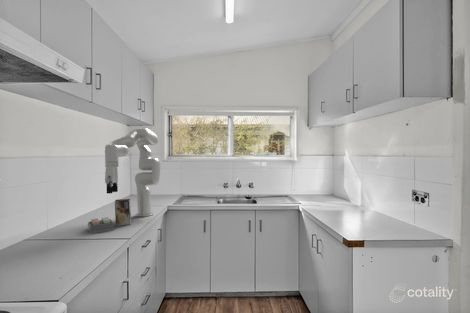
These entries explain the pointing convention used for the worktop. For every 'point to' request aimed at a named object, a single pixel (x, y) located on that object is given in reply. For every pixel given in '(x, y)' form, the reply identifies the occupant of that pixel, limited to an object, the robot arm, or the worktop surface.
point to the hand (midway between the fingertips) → (112, 192)
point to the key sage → (106, 221)
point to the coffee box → (122, 212)
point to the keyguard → (101, 227)
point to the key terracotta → (95, 222)
